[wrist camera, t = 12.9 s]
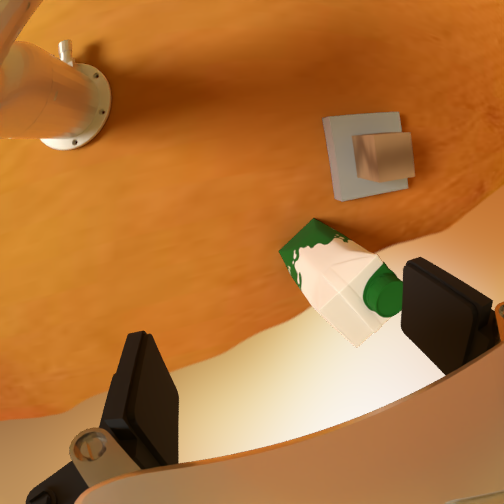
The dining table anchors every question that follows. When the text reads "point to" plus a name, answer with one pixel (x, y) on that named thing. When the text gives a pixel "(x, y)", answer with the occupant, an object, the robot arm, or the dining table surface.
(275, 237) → the dining table surface
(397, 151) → the walnut block
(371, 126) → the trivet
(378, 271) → the soya milk
